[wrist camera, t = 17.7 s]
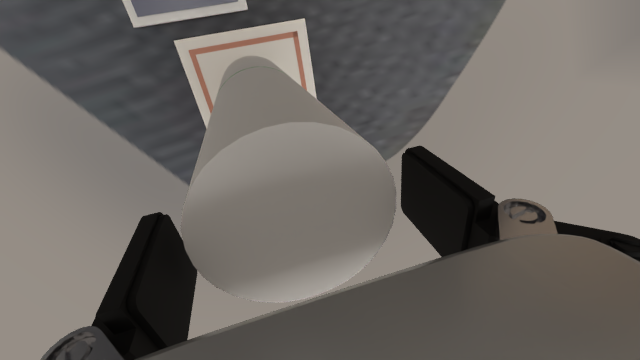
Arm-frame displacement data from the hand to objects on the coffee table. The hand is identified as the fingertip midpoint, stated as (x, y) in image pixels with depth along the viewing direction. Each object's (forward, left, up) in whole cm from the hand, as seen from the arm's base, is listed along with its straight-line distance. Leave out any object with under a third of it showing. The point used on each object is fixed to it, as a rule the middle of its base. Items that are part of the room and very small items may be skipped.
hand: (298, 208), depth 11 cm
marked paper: (0, 0, -24) cm, 24 cm away
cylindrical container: (0, 0, -23) cm, 23 cm away
